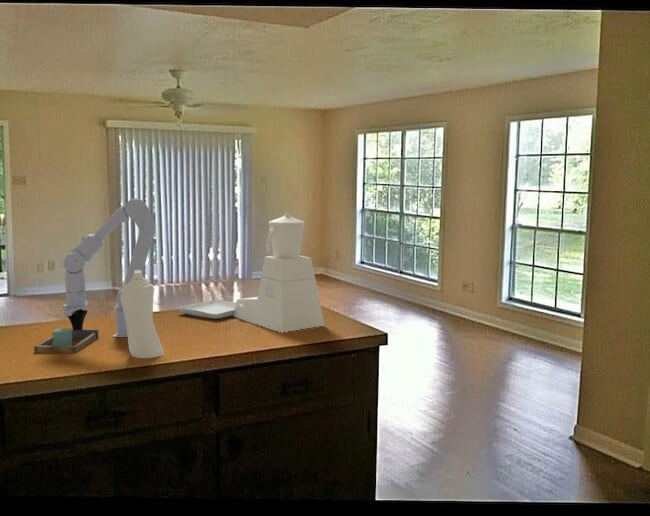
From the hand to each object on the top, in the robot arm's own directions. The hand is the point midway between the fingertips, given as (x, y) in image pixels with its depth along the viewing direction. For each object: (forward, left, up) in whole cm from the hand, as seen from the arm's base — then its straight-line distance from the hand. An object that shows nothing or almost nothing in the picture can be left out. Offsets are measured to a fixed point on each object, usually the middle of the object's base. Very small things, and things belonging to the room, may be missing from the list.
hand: (77, 333), depth 199 cm
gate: (+5, +2, -2) cm, 6 cm away
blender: (-61, -25, -2) cm, 66 cm away
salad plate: (-37, -40, -2) cm, 54 cm away
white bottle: (-26, +20, -2) cm, 33 cm away
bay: (-1, +11, -2) cm, 11 cm away
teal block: (0, +13, -2) cm, 13 cm away
